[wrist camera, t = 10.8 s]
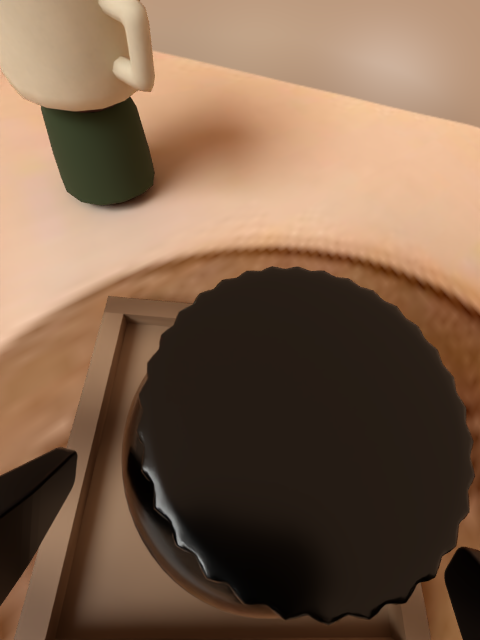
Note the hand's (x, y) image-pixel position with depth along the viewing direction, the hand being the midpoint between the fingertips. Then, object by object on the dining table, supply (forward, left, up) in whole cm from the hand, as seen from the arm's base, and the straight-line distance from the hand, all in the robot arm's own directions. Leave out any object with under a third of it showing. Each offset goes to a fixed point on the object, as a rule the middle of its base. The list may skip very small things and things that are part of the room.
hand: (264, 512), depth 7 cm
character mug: (+20, +10, -9) cm, 24 cm away
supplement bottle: (+2, 0, -8) cm, 8 cm away
